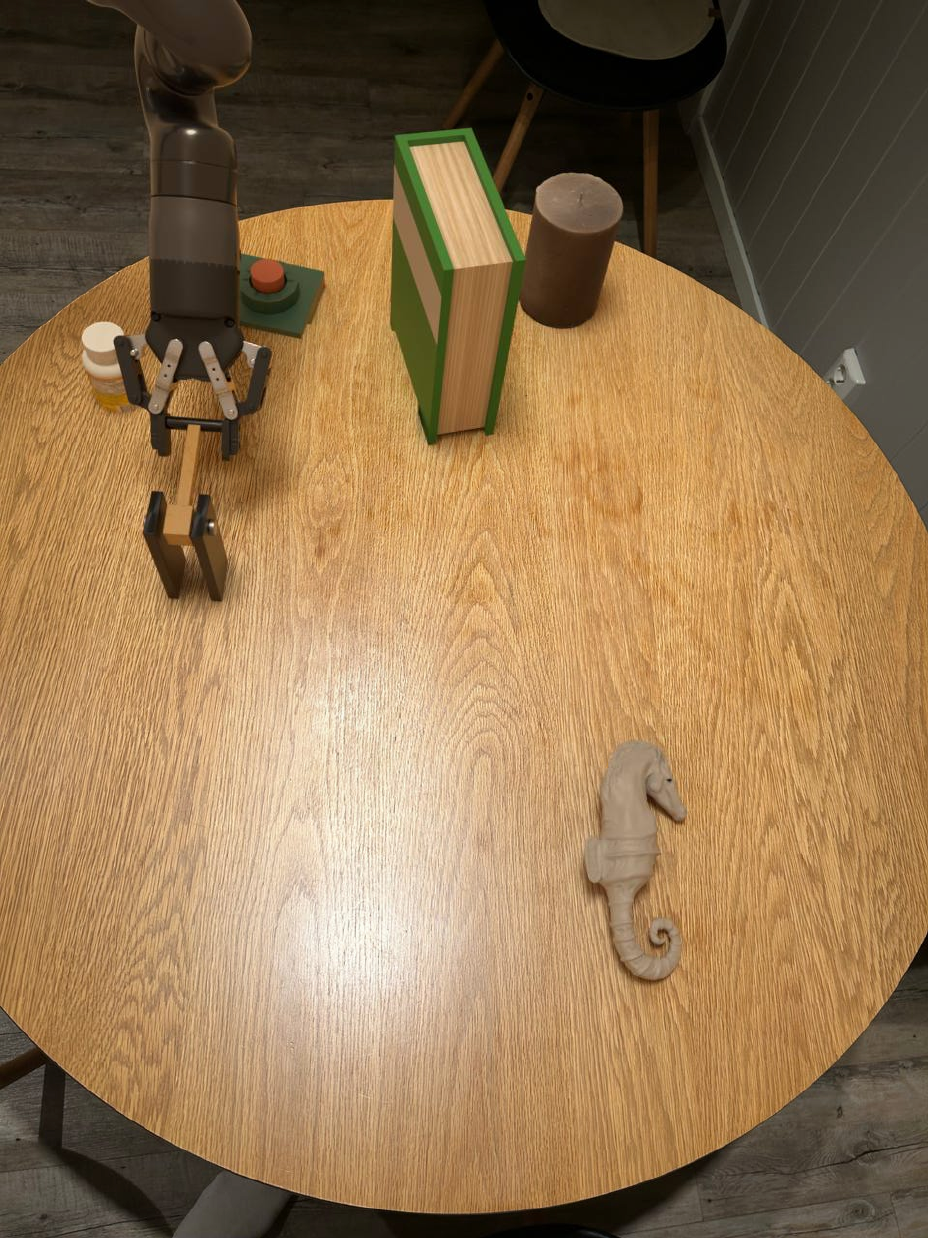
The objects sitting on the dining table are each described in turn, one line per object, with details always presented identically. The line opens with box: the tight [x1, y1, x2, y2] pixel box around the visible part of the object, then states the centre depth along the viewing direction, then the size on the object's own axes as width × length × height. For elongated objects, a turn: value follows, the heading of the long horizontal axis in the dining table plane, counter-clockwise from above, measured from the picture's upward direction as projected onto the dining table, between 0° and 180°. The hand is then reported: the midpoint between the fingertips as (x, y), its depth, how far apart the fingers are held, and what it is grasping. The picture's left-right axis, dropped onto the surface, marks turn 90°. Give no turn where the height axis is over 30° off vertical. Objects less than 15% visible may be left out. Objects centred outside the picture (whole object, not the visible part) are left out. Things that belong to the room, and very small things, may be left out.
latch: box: [163, 415, 223, 547], centre depth 83 cm, size 12×5×2 cm, turn 179°
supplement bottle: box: [81, 321, 149, 414], centre depth 96 cm, size 5×5×10 cm
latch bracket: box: [142, 490, 229, 602], centre depth 85 cm, size 10×8×13 cm
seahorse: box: [583, 739, 688, 981], centre depth 81 cm, size 5×12×20 cm
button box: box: [240, 252, 326, 339], centre depth 106 cm, size 10×10×4 cm
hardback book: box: [389, 127, 526, 446], centre depth 95 cm, size 18×7×24 cm, turn 16°
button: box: [251, 258, 285, 294], centre depth 104 cm, size 4×4×2 cm
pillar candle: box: [519, 172, 624, 329], centre depth 106 cm, size 10×10×15 cm
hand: (196, 457), depth 85 cm, fingers closed on latch, 5 cm apart
